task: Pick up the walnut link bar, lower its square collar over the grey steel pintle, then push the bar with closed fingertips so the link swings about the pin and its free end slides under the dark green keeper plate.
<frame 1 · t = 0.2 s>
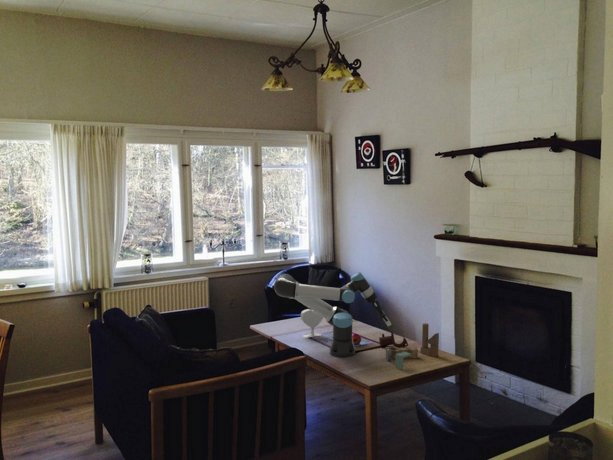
hand: (388, 322, 337), 15 cm above the table, tool tilted 35°, fingers open, 13 cm apart
pintle: (389, 361, 311), on the table
link: (410, 357, 318), on the table
wooden block: (429, 354, 323), on the table
keeper: (404, 366, 302), on the table
heart sculpture: (312, 335, 362), on the table
brown toy figure: (393, 347, 338), on the table
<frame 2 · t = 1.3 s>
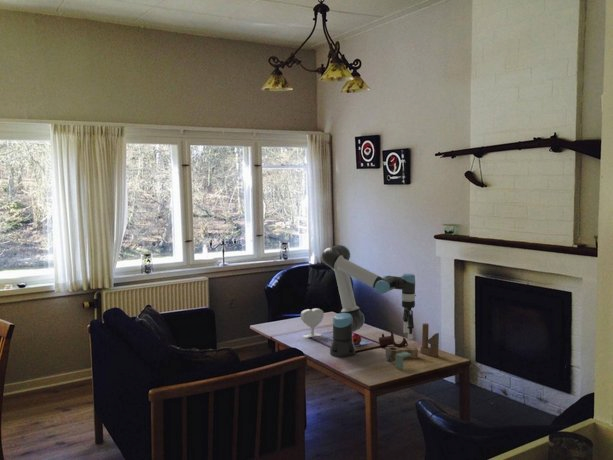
hand: (408, 335, 317), 13 cm above the table, tool pointing down, fingers open, 13 cm apart
nothing on the table moved.
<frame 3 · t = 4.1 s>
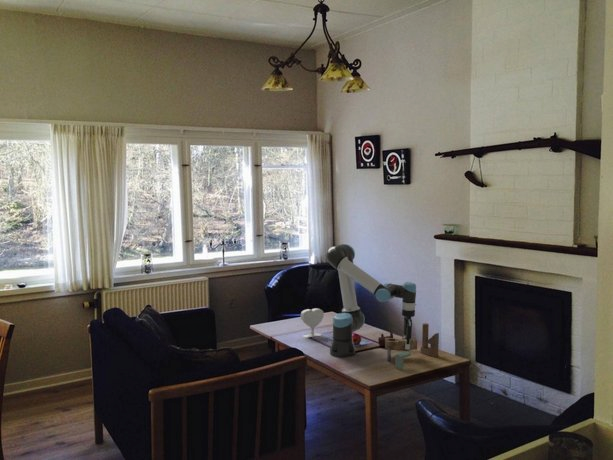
hand: (406, 347, 318), 6 cm above the table, tool pointing down, fingers closed on link, 4 cm apart
link: (410, 348, 318), point 5 cm above the table, touching gripper
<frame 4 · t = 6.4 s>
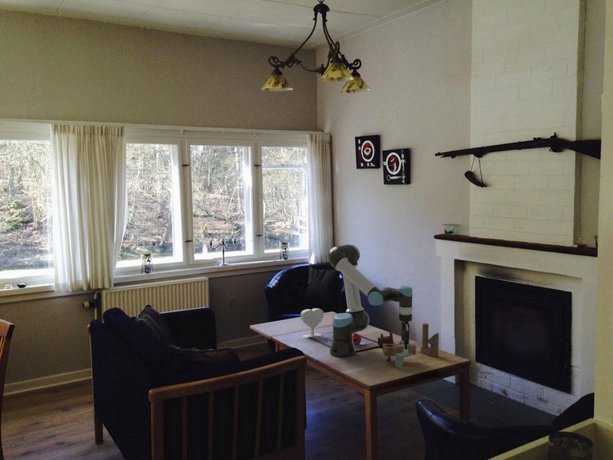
hand: (404, 353, 311), 5 cm above the table, tool pointing down, fingers closed on link, 4 cm apart
link: (408, 353, 311), point 4 cm above the table, touching gripper
when the fingers open (0 cm above the table, at t = 8.8 s): link stays where it is, on the table.
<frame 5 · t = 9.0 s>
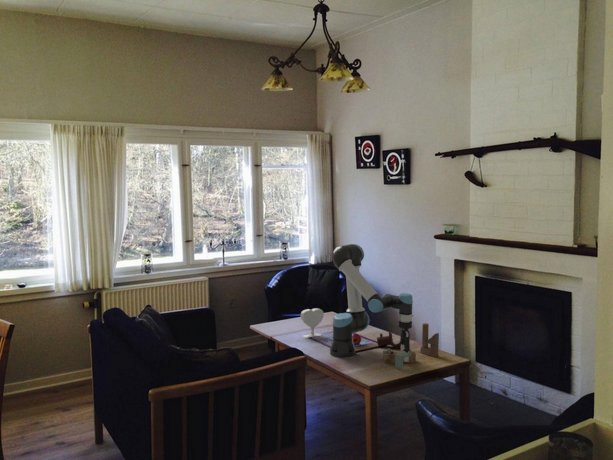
hand: (404, 358, 312), 1 cm above the table, tool pointing down, fingers open, 9 cm apart
link: (408, 361, 311), on the table
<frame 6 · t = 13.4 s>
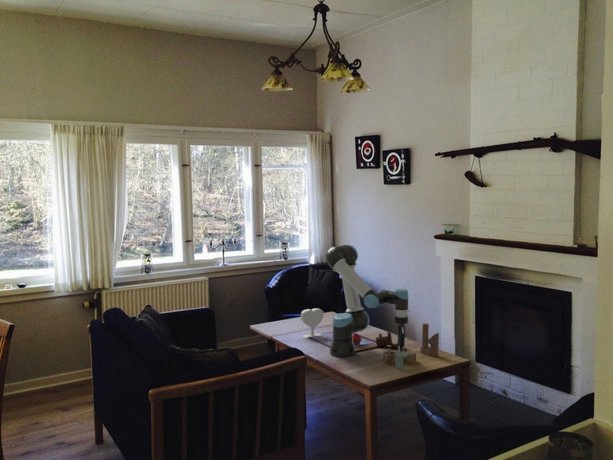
hand: (400, 355, 313), 2 cm above the table, tool pointing down, fingers closed
link: (409, 361, 311), on the table, touching gripper
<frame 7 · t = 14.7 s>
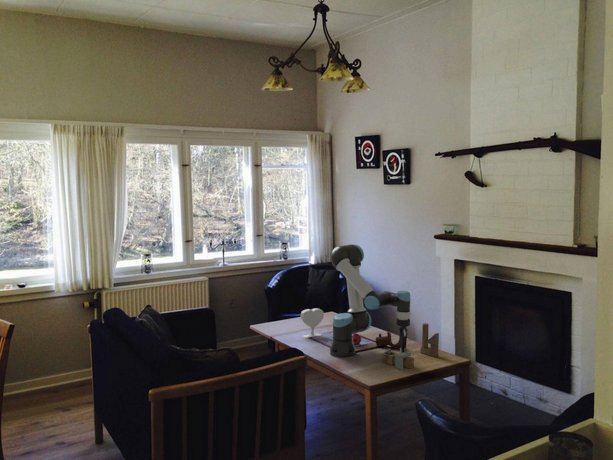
hand: (402, 358, 308), 2 cm above the table, tool pointing down, fingers closed
link: (406, 366, 303), on the table, touching gripper, pintle
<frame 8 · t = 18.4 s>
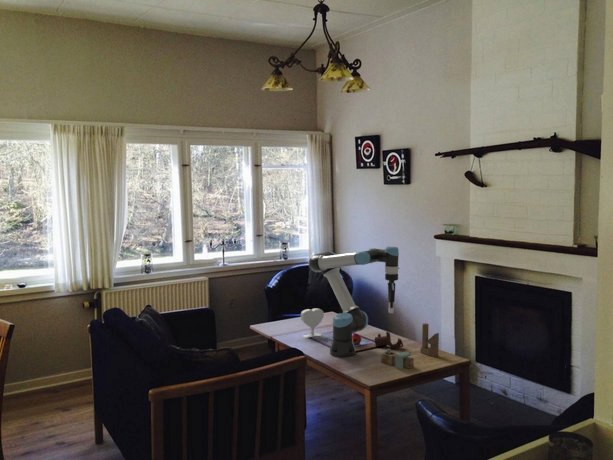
hand: (391, 312, 317), 26 cm above the table, tool pointing down, fingers closed
link: (406, 366, 303), on the table
at the end: link 2.3 cm off-centre on the keeper, point 0.0 cm above the keeper's base; link 12.0 cm from the pintle (horizontally); link on the table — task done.
